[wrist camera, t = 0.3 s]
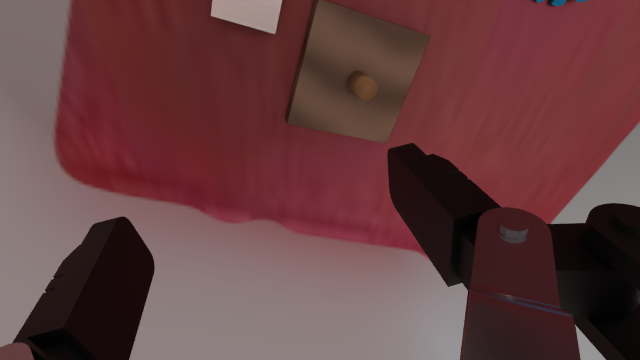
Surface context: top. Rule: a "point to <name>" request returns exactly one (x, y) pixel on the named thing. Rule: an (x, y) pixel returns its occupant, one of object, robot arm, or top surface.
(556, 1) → the blue piece
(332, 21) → the board
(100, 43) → the top surface
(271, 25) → the pale grey cube block
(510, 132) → the top surface
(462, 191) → the robot arm
